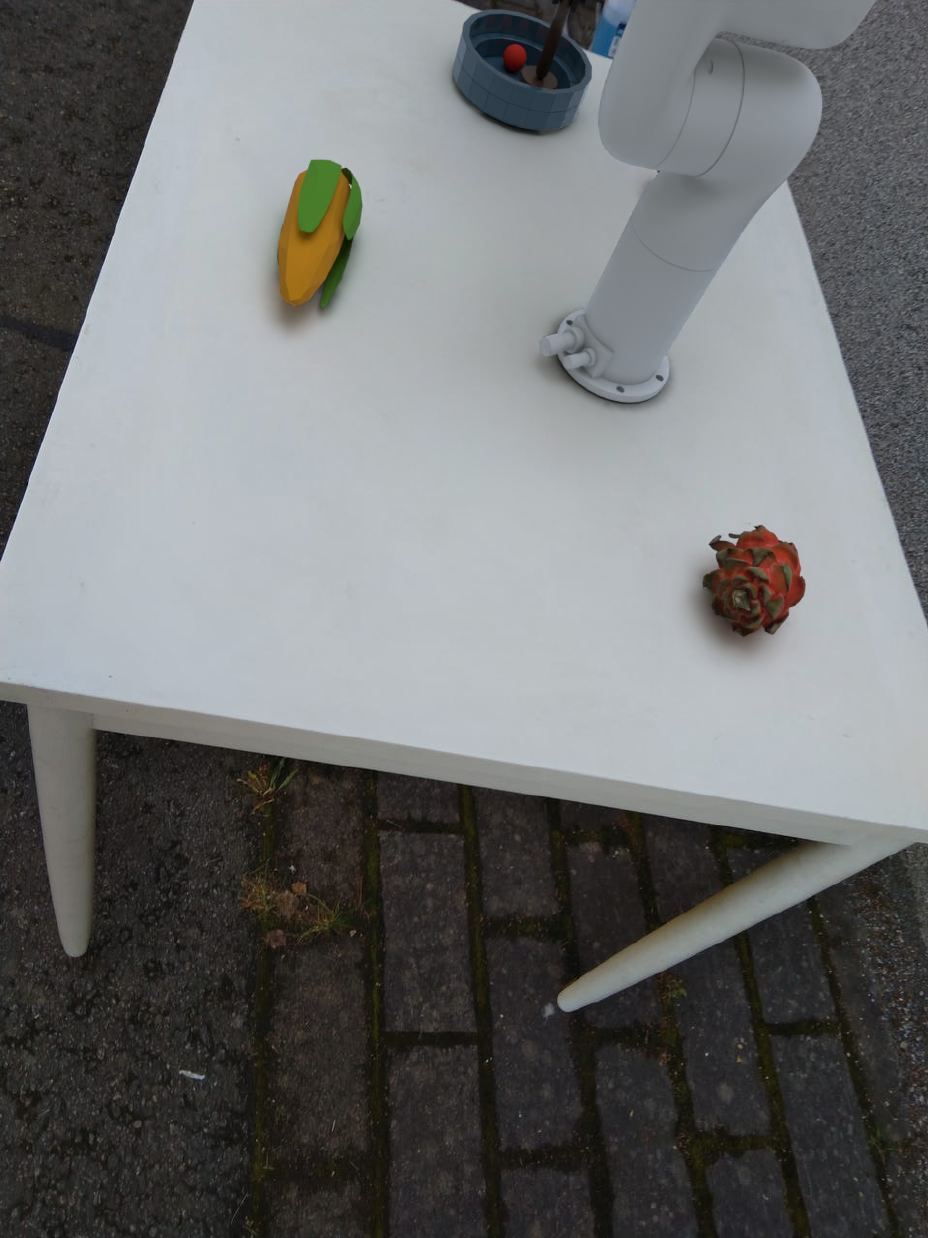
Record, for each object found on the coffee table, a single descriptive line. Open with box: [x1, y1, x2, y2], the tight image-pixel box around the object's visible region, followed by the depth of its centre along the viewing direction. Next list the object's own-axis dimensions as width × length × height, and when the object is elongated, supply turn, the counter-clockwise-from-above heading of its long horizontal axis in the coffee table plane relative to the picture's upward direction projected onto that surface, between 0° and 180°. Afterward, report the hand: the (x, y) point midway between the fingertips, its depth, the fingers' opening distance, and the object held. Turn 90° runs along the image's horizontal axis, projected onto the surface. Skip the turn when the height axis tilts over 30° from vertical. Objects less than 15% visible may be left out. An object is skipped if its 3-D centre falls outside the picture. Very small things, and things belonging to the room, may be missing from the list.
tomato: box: [503, 44, 526, 72], centre depth 115 cm, size 3×3×3 cm
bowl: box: [451, 9, 593, 131], centre depth 113 cm, size 17×17×6 cm
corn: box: [276, 159, 363, 308], centre depth 87 cm, size 7×8×20 cm
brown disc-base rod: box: [519, 0, 573, 89], centre depth 107 cm, size 5×5×16 cm
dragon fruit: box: [701, 523, 807, 638], centre depth 80 cm, size 8×8×12 cm
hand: (565, 1), depth 105 cm, fingers closed on brown disc-base rod
